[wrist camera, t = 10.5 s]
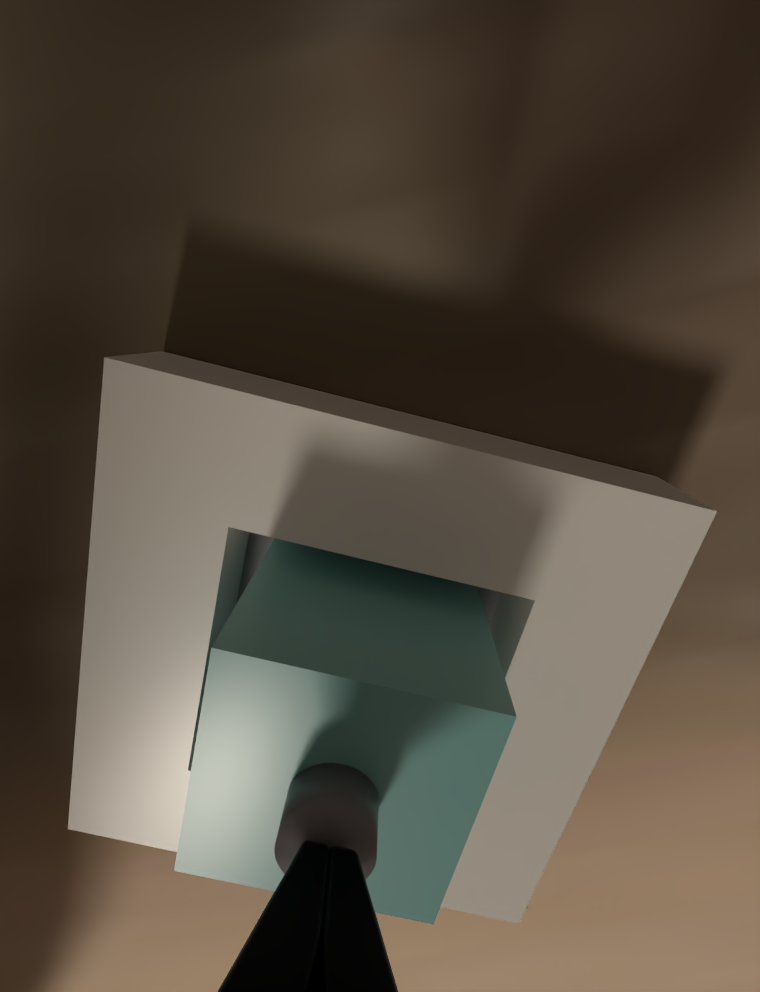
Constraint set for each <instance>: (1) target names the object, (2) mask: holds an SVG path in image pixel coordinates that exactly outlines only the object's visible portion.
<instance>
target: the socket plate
mask: <svg viewBox="0 0 760 992" xmlns="http://www.w3.org/2000/svg"><path fill="white" fill-rule="evenodd" d="M716 512H717V511H716V510H714V509H712V508H710V507H709V506H707V505H705V504H704V503H702V502H700V501H698V500H697V499H695V498H693V497H691V496H690V495H688V494H686V493H684V492H683V491H681V490H679V489H678V488H676V487H674V486H672V485H671V484H669V483H667V482H665V481H664V480H662V479H660V478H659V477H657V476H653V475H649V474H645V473H642V472H638V471H634V470H630V469H626V468H622V467H618V466H614V465H610V464H606V463H602V462H598V461H594V460H590V459H586V458H582V457H578V456H574V455H570V454H566V453H563V452H559V451H555V450H551V449H547V448H543V447H539V446H535V445H531V444H527V443H523V442H519V441H515V440H511V439H507V438H503V437H499V436H495V435H491V434H488V433H484V432H480V431H476V430H472V429H468V428H464V427H460V426H456V425H452V424H448V423H444V422H440V421H436V420H432V419H428V418H424V417H420V416H416V415H412V414H409V413H405V412H401V411H397V410H393V409H389V408H385V407H381V406H377V405H373V404H369V403H365V402H361V401H357V400H353V399H349V398H345V397H341V396H337V395H333V394H330V393H326V392H322V391H318V390H314V389H310V388H306V387H302V386H298V385H294V384H290V383H286V382H282V381H278V380H274V379H270V378H266V377H262V376H258V375H255V374H251V373H247V372H243V371H239V370H235V369H231V368H227V367H223V366H219V365H215V364H211V363H207V362H203V361H199V360H195V359H191V358H187V357H183V356H179V355H176V354H172V353H168V352H164V351H159V352H150V353H140V354H131V355H121V356H111V357H104V367H103V380H102V393H101V406H100V419H99V432H98V445H97V458H96V471H95V484H94V497H93V509H92V522H91V535H90V548H89V561H88V574H87V587H86V600H85V613H84V626H83V639H82V652H81V664H80V677H79V690H78V703H77V716H76V729H75V742H74V755H73V768H72V781H71V794H70V807H69V819H68V829H70V830H75V831H79V832H84V833H89V834H94V835H98V836H103V837H108V838H113V839H118V840H122V841H127V842H132V843H137V844H141V845H146V846H151V847H156V848H160V849H165V850H170V851H175V852H177V851H178V845H179V839H180V833H181V827H182V821H183V815H184V809H185V803H186V797H187V791H188V785H189V779H190V773H191V767H192V761H193V755H194V749H195V743H196V737H197V731H198V725H199V719H200V713H201V707H202V701H203V695H204V689H205V683H206V677H207V671H208V665H209V659H210V653H211V647H212V646H213V644H214V642H215V640H216V639H217V637H218V635H219V634H220V632H221V630H222V628H223V627H224V625H225V623H226V621H227V620H228V618H229V616H230V615H231V613H232V611H233V609H234V608H235V606H236V604H237V602H238V601H239V599H240V597H241V596H242V594H243V592H244V590H245V589H246V587H247V585H248V583H249V582H250V580H251V578H252V577H253V575H254V573H255V571H256V570H257V568H258V566H259V564H260V563H261V561H262V559H263V558H264V556H265V554H266V552H267V551H268V549H269V547H270V545H271V544H272V542H273V540H274V539H275V538H276V539H281V540H285V541H289V542H293V543H297V544H302V545H306V546H310V547H314V548H318V549H322V550H327V551H331V552H335V553H339V554H343V555H348V556H352V557H356V558H360V559H364V560H368V561H373V562H377V563H381V564H385V565H389V566H393V567H398V568H402V569H406V570H410V571H414V572H419V573H423V574H427V575H431V576H435V577H439V578H444V579H448V580H452V581H456V582H460V583H465V584H469V585H473V586H477V589H478V592H479V595H480V598H481V602H482V605H483V608H484V612H485V615H486V618H487V621H488V625H489V628H490V631H491V634H492V638H493V641H494V644H495V647H496V651H497V654H498V657H499V661H500V664H501V667H502V670H503V674H504V677H505V680H506V683H507V687H508V690H509V693H510V696H511V700H512V703H513V706H514V710H515V713H516V716H517V717H516V720H515V722H514V725H513V727H512V730H511V732H510V735H509V737H508V740H507V742H506V745H505V747H504V750H503V752H502V755H501V757H500V760H499V762H498V765H497V767H496V769H495V772H494V774H493V777H492V779H491V782H490V784H489V787H488V789H487V792H486V794H485V797H484V799H483V802H482V804H481V807H480V809H479V812H478V814H477V817H476V819H475V822H474V824H473V827H472V829H471V832H470V834H469V837H468V839H467V842H466V844H465V846H464V849H463V851H462V854H461V856H460V859H459V861H458V864H457V866H456V869H455V871H454V874H453V876H452V879H451V881H450V884H449V886H448V889H447V891H446V894H445V896H444V899H443V901H442V904H441V906H440V907H442V908H447V909H451V910H456V911H461V912H466V913H470V914H475V915H480V916H485V917H490V918H494V919H499V920H504V921H509V922H513V923H518V924H519V922H520V920H521V918H522V916H523V914H524V912H525V909H526V907H527V905H528V903H529V901H530V899H531V897H532V895H533V893H534V891H535V889H536V887H537V884H538V882H539V880H540V878H541V876H542V874H543V872H544V870H545V868H546V866H547V864H548V862H549V860H550V857H551V855H552V853H553V851H554V849H555V847H556V845H557V843H558V841H559V839H560V837H561V835H562V833H563V830H564V828H565V826H566V824H567V822H568V820H569V818H570V816H571V814H572V812H573V810H574V808H575V806H576V803H577V801H578V799H579V797H580V795H581V793H582V791H583V789H584V787H585V785H586V783H587V781H588V778H589V776H590V774H591V772H592V770H593V768H594V766H595V764H596V762H597V760H598V758H599V756H600V754H601V751H602V749H603V747H604V745H605V743H606V741H607V739H608V737H609V735H610V733H611V731H612V729H613V727H614V724H615V722H616V720H617V718H618V716H619V714H620V712H621V710H622V708H623V706H624V704H625V702H626V700H627V697H628V695H629V693H630V691H631V689H632V687H633V685H634V683H635V681H636V679H637V677H638V675H639V672H640V670H641V668H642V666H643V664H644V662H645V660H646V658H647V656H648V654H649V652H650V650H651V648H652V645H653V643H654V641H655V639H656V637H657V635H658V633H659V631H660V629H661V627H662V625H663V623H664V621H665V618H666V616H667V614H668V612H669V610H670V608H671V606H672V604H673V602H674V600H675V598H676V596H677V594H678V591H679V589H680V587H681V585H682V583H683V581H684V579H685V577H686V575H687V573H688V571H689V569H690V566H691V564H692V562H693V560H694V558H695V556H696V554H697V552H698V550H699V548H700V546H701V544H702V542H703V539H704V537H705V535H706V533H707V531H708V529H709V527H710V525H711V523H712V521H713V519H714V517H715V515H716Z"/></svg>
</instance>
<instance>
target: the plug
mask: <svg viewBox="0 0 760 992" xmlns="http://www.w3.org/2000/svg"><path fill="white" fill-rule="evenodd" d="M516 717H517V716H516V713H515V710H514V706H513V703H512V700H511V696H510V693H509V690H508V687H507V683H506V680H505V677H504V674H503V670H502V667H501V664H500V661H499V657H498V654H497V651H496V647H495V644H494V641H493V638H492V634H491V631H490V628H489V625H488V621H487V618H486V615H485V612H484V608H483V605H482V602H481V598H480V595H479V592H478V589H477V586H473V585H469V584H465V583H460V582H456V581H452V580H448V579H444V578H439V577H435V576H431V575H427V574H423V573H419V572H414V571H410V570H406V569H402V568H398V567H393V566H389V565H385V564H381V563H377V562H373V561H368V560H364V559H360V558H356V557H352V556H348V555H343V554H339V553H335V552H331V551H327V550H322V549H318V548H314V547H310V546H306V545H302V544H297V543H293V542H289V541H285V540H281V539H276V538H275V539H274V540H273V542H272V544H271V545H270V547H269V549H268V551H267V552H266V554H265V556H264V558H263V559H262V561H261V563H260V564H259V566H258V568H257V570H256V571H255V573H254V575H253V577H252V578H251V580H250V582H249V583H248V585H247V587H246V589H245V590H244V592H243V594H242V596H241V597H240V599H239V601H238V602H237V604H236V606H235V608H234V609H233V611H232V613H231V615H230V616H229V618H228V620H227V621H226V623H225V625H224V627H223V628H222V630H221V632H220V634H219V635H218V637H217V639H216V640H215V642H214V644H213V646H212V647H211V653H210V659H209V665H208V671H207V677H206V683H205V689H204V695H203V701H202V707H201V713H200V719H199V725H198V731H197V737H196V743H195V749H194V755H193V761H192V767H191V773H190V779H189V785H188V791H187V797H186V803H185V809H184V815H183V821H182V827H181V833H180V839H179V845H178V851H177V857H176V863H175V869H174V871H178V872H183V873H188V874H193V875H197V876H202V877H207V878H212V879H217V880H222V881H226V882H231V883H236V884H241V885H246V886H251V887H256V888H260V889H265V890H270V891H275V890H276V888H277V887H278V885H279V883H280V881H281V880H282V878H283V876H284V874H285V873H286V871H287V869H288V867H289V866H290V864H291V862H292V860H293V859H294V857H295V855H296V853H297V851H298V850H299V848H300V846H301V845H302V843H303V842H304V841H306V840H311V841H315V842H320V843H325V844H327V845H328V846H329V849H330V848H331V847H332V846H339V847H344V848H348V849H353V850H355V851H356V852H357V854H358V856H359V859H360V863H361V866H362V869H363V873H364V876H365V880H366V883H367V887H368V890H369V893H370V897H371V900H372V904H373V907H374V911H375V912H377V913H382V914H386V915H391V916H396V917H401V918H406V919H411V920H415V921H420V922H425V923H430V924H433V923H434V921H435V919H436V916H437V914H438V911H439V909H440V906H441V904H442V901H443V899H444V896H445V894H446V891H447V889H448V886H449V884H450V881H451V879H452V876H453V874H454V871H455V869H456V866H457V864H458V861H459V859H460V856H461V854H462V851H463V849H464V846H465V844H466V842H467V839H468V837H469V834H470V832H471V829H472V827H473V824H474V822H475V819H476V817H477V814H478V812H479V809H480V807H481V804H482V802H483V799H484V797H485V794H486V792H487V789H488V787H489V784H490V782H491V779H492V777H493V774H494V772H495V769H496V767H497V765H498V762H499V760H500V757H501V755H502V752H503V750H504V747H505V745H506V742H507V740H508V737H509V735H510V732H511V730H512V727H513V725H514V722H515V720H516Z"/></svg>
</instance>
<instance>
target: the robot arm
mask: <svg viewBox="0 0 760 992" xmlns="http://www.w3.org/2000/svg"><path fill="white" fill-rule="evenodd" d="M218 992H398V990H397V986H396V983H395V979H394V976H393V973H392V969H391V966H390V962H389V959H388V955H387V952H386V948H385V945H384V942H383V938H382V935H381V931H380V928H379V924H378V921H377V918H376V914H375V911H374V907H373V904H372V900H371V897H370V893H369V890H368V887H367V883H366V880H365V876H364V873H363V869H362V866H361V863H360V859H359V856H358V854H357V852H356V851H355V850H353V849H348V848H344V847H339V846H332V847H331V848H330V849H329V846H328V845H327V844H325V843H320V842H315V841H311V840H306V841H304V842H303V843H302V845H301V846H300V848H299V850H298V851H297V853H296V855H295V857H294V859H293V860H292V862H291V864H290V866H289V867H288V869H287V871H286V873H285V874H284V876H283V878H282V880H281V881H280V883H279V885H278V887H277V888H276V890H275V892H274V894H273V895H272V897H271V899H270V901H269V902H268V904H267V906H266V908H265V909H264V911H263V913H262V915H261V916H260V918H259V920H258V922H257V923H256V925H255V927H254V929H253V931H252V932H251V934H250V936H249V938H248V939H247V941H246V943H245V945H244V946H243V948H242V950H241V952H240V953H239V955H238V957H237V959H236V960H235V962H234V964H233V966H232V967H231V969H230V971H229V973H228V974H227V976H226V978H225V980H224V981H223V983H222V985H221V987H220V988H219V990H218Z"/></svg>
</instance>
